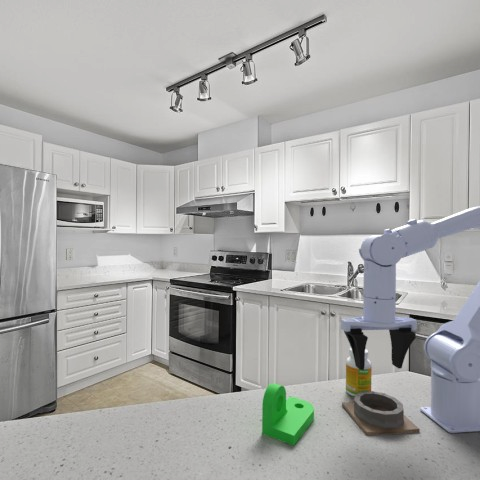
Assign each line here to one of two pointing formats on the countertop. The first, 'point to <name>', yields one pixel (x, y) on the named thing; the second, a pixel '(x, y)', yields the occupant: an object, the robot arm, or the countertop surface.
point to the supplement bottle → (357, 375)
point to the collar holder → (379, 414)
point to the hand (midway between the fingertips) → (378, 367)
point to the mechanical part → (285, 415)
